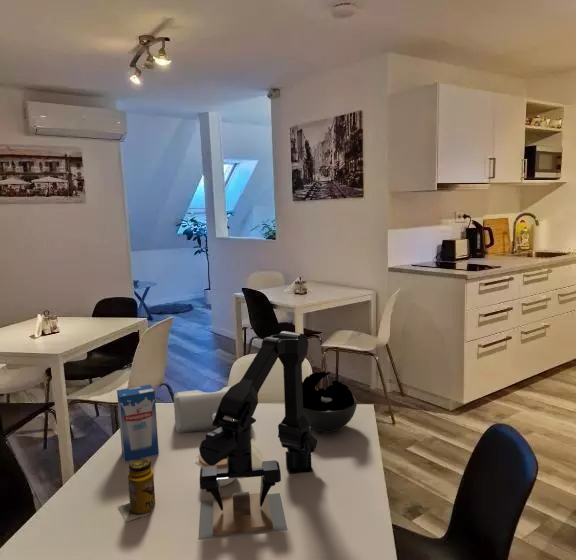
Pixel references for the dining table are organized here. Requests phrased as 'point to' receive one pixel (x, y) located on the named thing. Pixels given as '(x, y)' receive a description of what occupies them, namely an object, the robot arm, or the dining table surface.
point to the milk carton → (138, 422)
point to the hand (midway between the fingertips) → (241, 507)
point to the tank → (197, 409)
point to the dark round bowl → (327, 404)
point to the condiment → (139, 490)
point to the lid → (241, 514)
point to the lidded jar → (220, 467)
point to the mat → (207, 532)
